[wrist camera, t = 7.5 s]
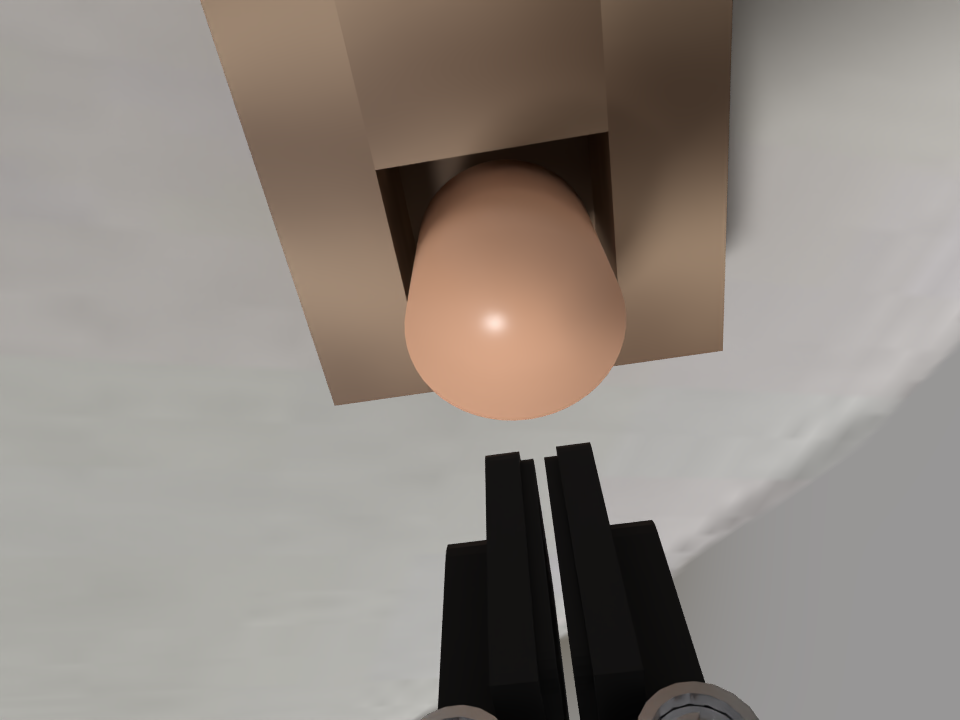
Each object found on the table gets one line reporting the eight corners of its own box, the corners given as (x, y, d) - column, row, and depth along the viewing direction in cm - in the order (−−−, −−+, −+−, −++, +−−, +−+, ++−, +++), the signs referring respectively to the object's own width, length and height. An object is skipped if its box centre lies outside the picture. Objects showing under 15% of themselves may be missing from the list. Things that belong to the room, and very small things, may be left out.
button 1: (401, 175, 19) (381, 245, 14) (584, 145, 18) (620, 207, 14) (436, 334, 21) (428, 433, 17) (598, 310, 21) (631, 405, 17)
